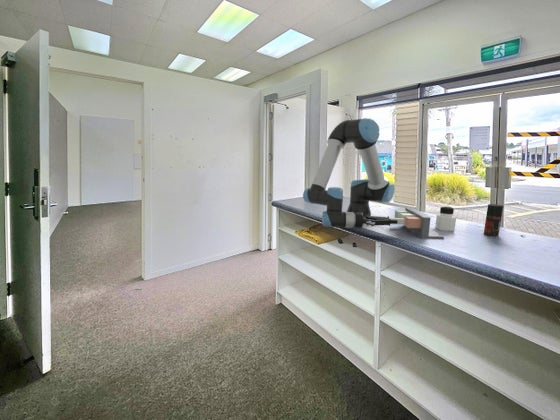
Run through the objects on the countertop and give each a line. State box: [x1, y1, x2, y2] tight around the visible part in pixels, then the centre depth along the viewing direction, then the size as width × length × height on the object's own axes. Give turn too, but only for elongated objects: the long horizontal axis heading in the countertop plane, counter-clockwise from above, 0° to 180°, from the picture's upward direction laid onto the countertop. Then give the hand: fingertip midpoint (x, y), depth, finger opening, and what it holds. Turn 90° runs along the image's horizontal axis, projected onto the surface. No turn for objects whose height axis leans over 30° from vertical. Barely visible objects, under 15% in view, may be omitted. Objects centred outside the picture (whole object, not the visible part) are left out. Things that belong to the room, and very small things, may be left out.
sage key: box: [394, 209, 410, 218], centre depth 153 cm, size 10×4×4 cm, turn 85°
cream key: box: [400, 213, 416, 224], centre depth 145 cm, size 10×4×4 cm, turn 85°
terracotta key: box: [404, 217, 422, 229], centre depth 138 cm, size 10×4×4 cm, turn 85°
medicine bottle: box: [435, 205, 457, 232], centre depth 150 cm, size 7×7×12 cm
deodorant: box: [483, 203, 504, 237], centre depth 139 cm, size 6×6×15 cm
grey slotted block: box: [403, 207, 445, 240], centre depth 145 cm, size 10×25×10 cm, turn 175°
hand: (403, 221), depth 138 cm, fingers closed
